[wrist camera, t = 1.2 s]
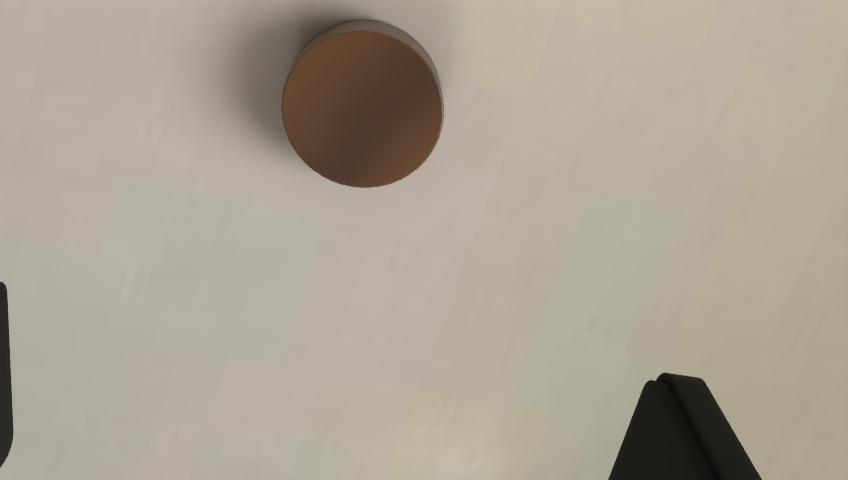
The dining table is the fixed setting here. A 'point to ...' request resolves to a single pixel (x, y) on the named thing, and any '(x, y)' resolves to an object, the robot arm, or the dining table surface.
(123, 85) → the dining table surface
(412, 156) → the brown round disc
